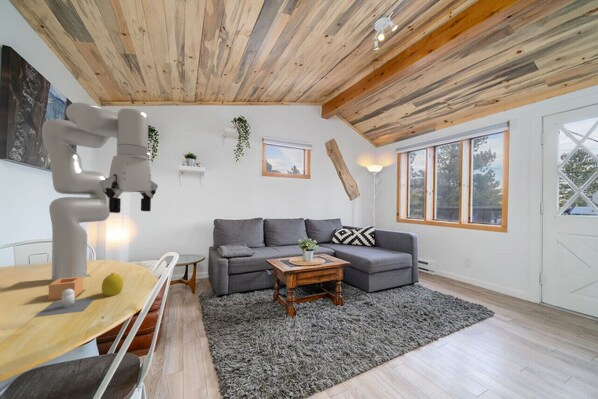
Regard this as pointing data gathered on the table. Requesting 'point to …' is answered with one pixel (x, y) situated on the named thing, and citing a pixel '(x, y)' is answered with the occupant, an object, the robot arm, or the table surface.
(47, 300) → the stand
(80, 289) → the collar
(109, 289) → the lemon
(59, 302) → the plate
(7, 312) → the table surface
